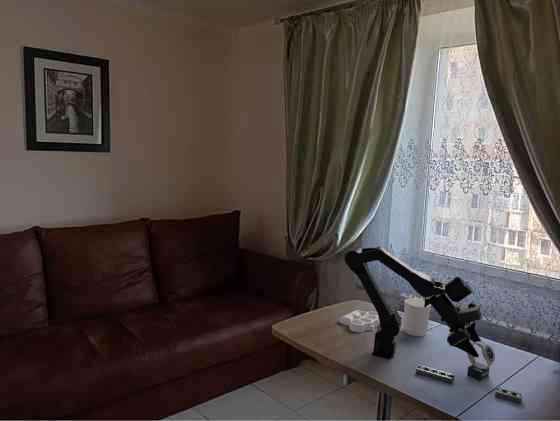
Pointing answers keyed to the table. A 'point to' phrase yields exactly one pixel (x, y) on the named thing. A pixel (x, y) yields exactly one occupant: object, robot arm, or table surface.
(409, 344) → the table surface
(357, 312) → the white lumpy slab
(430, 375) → the perforated metal strips
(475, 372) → the watch
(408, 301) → the candle holder
